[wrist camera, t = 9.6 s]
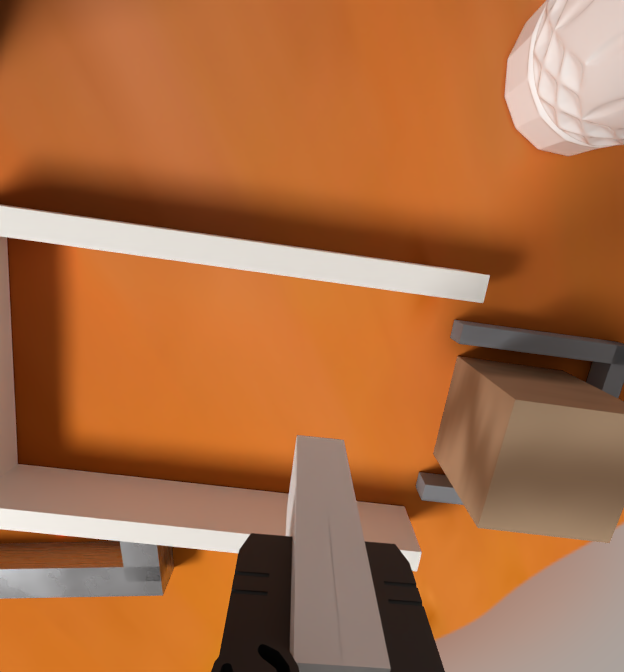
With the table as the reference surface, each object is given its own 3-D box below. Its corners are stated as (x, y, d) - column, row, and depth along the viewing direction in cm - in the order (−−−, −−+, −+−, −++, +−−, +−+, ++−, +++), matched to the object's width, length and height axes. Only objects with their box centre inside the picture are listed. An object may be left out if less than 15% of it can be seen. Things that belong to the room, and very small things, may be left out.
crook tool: (-39, 500, 23) (-71, 524, 21) (166, 496, 23) (153, 520, 21) (-21, 570, 24) (-50, 599, 22) (174, 566, 24) (162, 595, 22)
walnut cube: (456, 355, 21) (515, 399, 15) (561, 370, 21) (658, 418, 15) (432, 453, 22) (477, 527, 17) (531, 465, 23) (609, 543, 17)
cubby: (-21, 201, 19) (-94, 192, 15) (458, 269, 20) (489, 275, 16) (-3, 479, 22) (-59, 523, 19) (400, 523, 23) (417, 571, 20)
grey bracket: (454, 319, 20) (463, 324, 19) (617, 341, 21) (636, 347, 20) (415, 486, 23) (421, 500, 22) (562, 503, 23) (576, 517, 22)
